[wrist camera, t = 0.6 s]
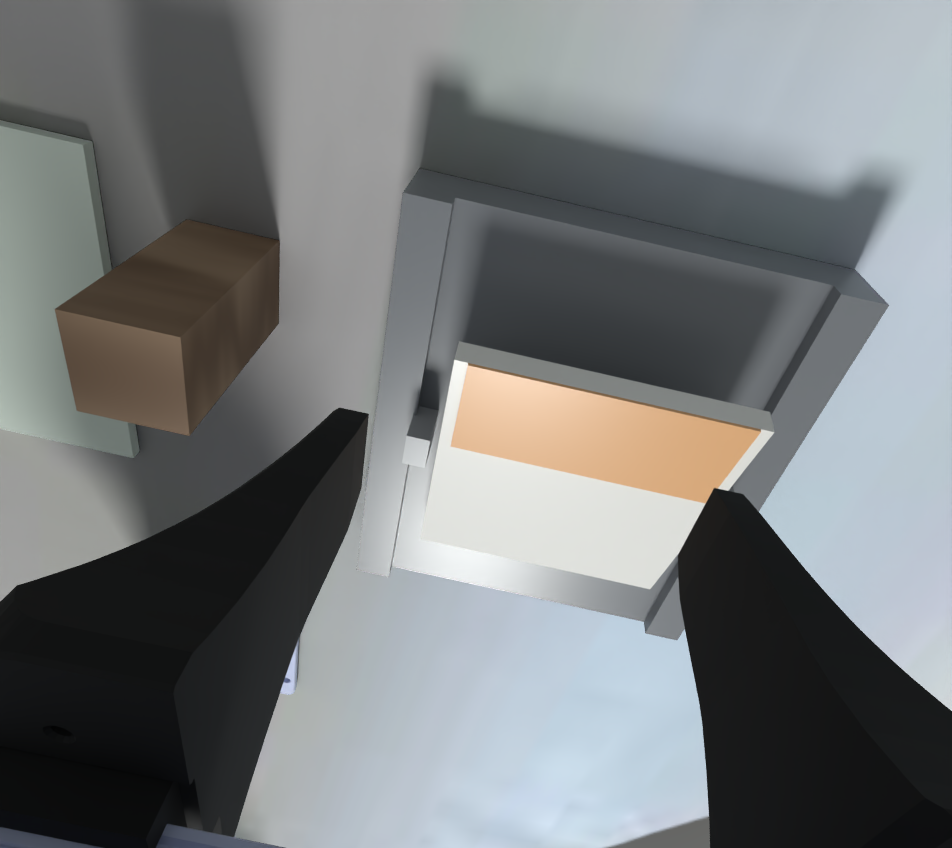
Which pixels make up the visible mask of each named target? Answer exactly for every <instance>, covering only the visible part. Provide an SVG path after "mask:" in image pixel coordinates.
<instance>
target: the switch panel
mask: <svg viewBox="0 0 952 848" xmlns="http://www.w3.org/2000/svg"><path fill="white" fill-rule="evenodd" d="M888 306H889V305H888V304H887V303H886V302H885V301H884V299H883V298H882V297H881V296H880V295H879V294H878V293H877V292H876V291H875V290H874V289H873V288H872V287H871V286H870V285H869V284H868V283H867V282H866V280H865V279H864V278H863V277H862V276H861V275H860V274H859V273H858V272H857V271H856V270H854V269H850V268H845V267H841V266H837V265H833V264H828V263H824V262H820V261H815V260H811V259H807V258H802V257H798V256H794V255H790V254H785V253H781V252H777V251H772V250H768V249H764V248H760V247H755V246H751V245H747V244H742V243H738V242H734V241H730V240H725V239H721V238H717V237H712V236H708V235H704V234H700V233H695V232H691V231H687V230H682V229H678V228H674V227H669V226H665V225H661V224H657V223H652V222H648V221H644V220H639V219H635V218H631V217H627V216H622V215H618V214H614V213H609V212H605V211H601V210H597V209H592V208H588V207H584V206H579V205H575V204H571V203H566V202H562V201H558V200H554V199H549V198H545V197H541V196H536V195H532V194H528V193H524V192H519V191H515V190H511V189H506V188H502V187H498V186H494V185H489V184H485V183H481V182H476V181H472V180H468V179H464V178H459V177H455V176H451V175H446V174H442V173H438V172H433V171H429V170H425V169H421V168H420V169H419V171H418V172H417V173H416V175H415V176H414V178H413V179H412V180H411V182H410V183H409V185H408V186H407V188H406V189H405V190H404V192H403V196H402V204H401V213H400V221H399V229H398V237H397V245H396V253H395V261H394V269H393V277H392V285H391V293H390V301H389V310H388V318H387V326H386V334H385V342H384V350H383V358H382V366H381V374H380V382H379V390H378V398H377V406H376V415H375V423H374V431H373V439H372V447H371V455H370V463H369V471H368V479H367V487H366V495H365V503H364V511H363V520H362V528H361V536H360V544H359V552H358V560H357V568H356V570H358V571H363V572H367V573H372V574H376V575H381V576H385V577H389V574H390V571H391V567H396V568H401V569H406V570H410V571H415V572H419V573H424V574H428V575H433V576H438V577H442V578H447V579H451V580H456V581H460V582H465V583H470V584H474V585H479V586H483V587H488V588H492V589H497V590H501V591H506V592H511V593H515V594H520V595H524V596H529V597H533V598H538V599H543V600H547V601H552V602H556V603H561V604H565V605H570V606H575V607H579V608H584V609H588V610H593V611H597V612H602V613H607V614H611V615H616V616H620V617H625V618H629V619H634V620H639V621H643V622H644V626H645V633H646V634H651V635H655V636H660V637H665V638H669V639H674V640H678V638H679V637H680V635H681V633H682V632H683V630H684V629H685V626H684V621H683V615H682V610H681V604H680V595H679V580H678V555H677V556H676V557H675V559H674V560H673V561H672V562H671V564H670V565H669V566H668V568H667V569H666V570H665V571H664V573H663V574H662V575H661V576H660V578H659V579H658V580H657V581H656V583H655V584H654V585H653V586H652V588H651V589H646V588H642V587H637V586H633V585H628V584H624V583H619V582H614V581H610V580H605V579H601V578H596V577H592V576H587V575H583V574H578V573H574V572H569V571H565V570H560V569H555V568H551V567H546V566H542V565H537V564H533V563H528V562H524V561H519V560H515V559H510V558H505V557H501V556H496V555H492V554H487V553H483V552H478V551H474V550H469V549H465V548H460V547H455V546H451V545H446V544H442V543H437V542H433V541H428V540H424V539H420V537H421V532H422V527H423V522H424V516H425V511H426V506H427V501H428V495H429V490H430V485H431V480H432V474H433V469H434V464H435V459H436V453H437V448H438V443H439V438H440V432H441V427H442V422H443V417H444V411H445V406H446V401H447V396H448V390H449V385H450V380H451V375H452V369H453V364H454V359H455V355H456V351H457V347H458V344H459V341H460V342H465V343H469V344H473V345H478V346H482V347H487V348H491V349H495V350H500V351H504V352H509V353H513V354H517V355H522V356H526V357H531V358H535V359H539V360H544V361H548V362H553V363H557V364H561V365H566V366H570V367H575V368H579V369H583V370H588V371H592V372H597V373H601V374H605V375H610V376H614V377H619V378H623V379H627V380H632V381H636V382H641V383H645V384H649V385H654V386H658V387H663V388H667V389H671V390H676V391H680V392H685V393H689V394H693V395H698V396H702V397H707V398H711V399H715V400H720V401H724V402H729V403H733V404H737V405H742V406H746V407H751V408H755V409H759V410H764V411H768V412H770V414H771V419H772V423H773V428H774V434H773V435H772V436H771V437H770V439H769V440H768V441H767V442H766V444H765V445H764V446H763V447H762V449H761V450H760V451H759V452H758V454H757V455H756V456H755V458H754V459H753V460H752V461H751V463H750V464H749V465H748V466H747V468H746V469H745V470H744V471H743V473H742V474H741V475H740V477H739V478H738V479H737V480H736V482H735V483H734V484H733V485H732V487H731V488H730V489H729V490H728V491H731V492H736V493H741V494H744V495H745V497H746V498H747V499H748V500H749V501H750V502H751V503H752V505H753V506H754V507H755V508H756V509H757V511H758V512H759V510H760V509H761V507H762V505H763V504H764V502H765V501H766V499H767V497H768V496H769V494H770V493H771V491H772V490H773V488H774V486H775V485H776V483H777V482H778V480H779V478H780V477H781V475H782V474H783V472H784V471H785V469H786V467H787V466H788V464H789V463H790V461H791V460H792V458H793V456H794V455H795V453H796V452H797V450H798V448H799V447H800V445H801V444H802V442H803V441H804V439H805V437H806V436H807V434H808V433H809V431H810V429H811V428H812V426H813V425H814V423H815V422H816V420H817V418H818V417H819V415H820V414H821V412H822V410H823V409H824V407H825V406H826V404H827V403H828V401H829V399H830V398H831V396H832V395H833V393H834V392H835V390H836V388H837V387H838V385H839V384H840V382H841V380H842V379H843V377H844V376H845V374H846V373H847V371H848V369H849V368H850V366H851V365H852V363H853V361H854V360H855V358H856V357H857V355H858V354H859V352H860V350H861V349H862V347H863V346H864V344H865V343H866V341H867V339H868V338H869V336H870V335H871V333H872V331H873V330H874V328H875V327H876V325H877V324H878V322H879V320H880V319H881V317H882V316H883V314H884V312H885V311H886V309H887V308H888Z"/></svg>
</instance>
